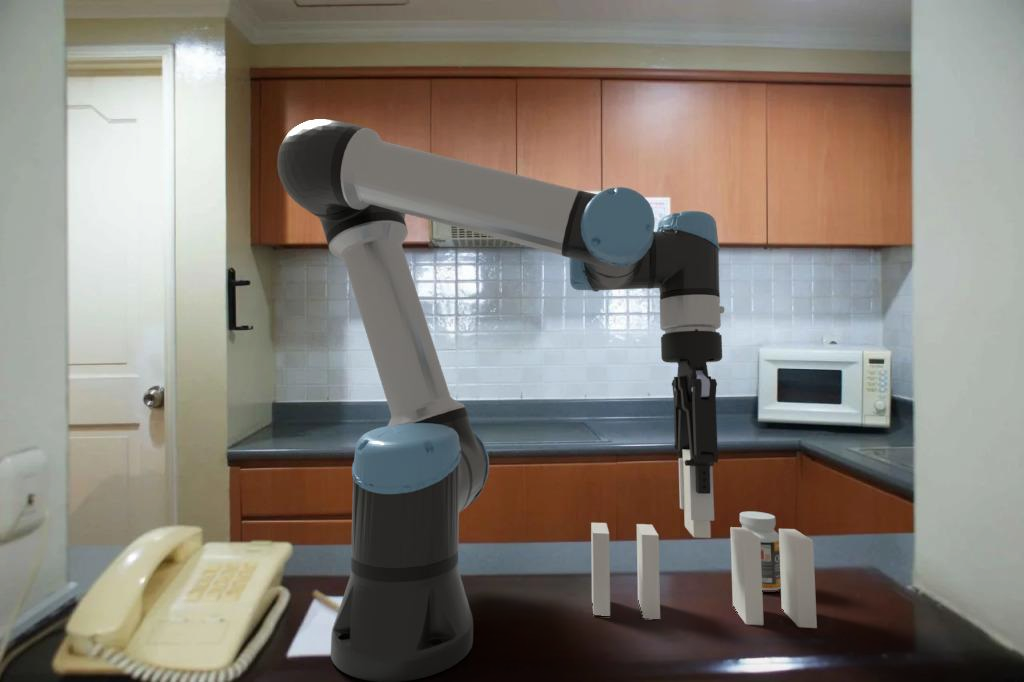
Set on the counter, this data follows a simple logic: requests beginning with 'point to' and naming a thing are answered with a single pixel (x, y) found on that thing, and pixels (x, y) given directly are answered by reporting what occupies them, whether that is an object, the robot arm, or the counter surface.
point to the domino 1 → (600, 569)
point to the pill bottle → (765, 546)
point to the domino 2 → (648, 571)
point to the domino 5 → (797, 577)
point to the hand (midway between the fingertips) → (696, 513)
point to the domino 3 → (693, 526)
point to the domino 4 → (746, 575)
